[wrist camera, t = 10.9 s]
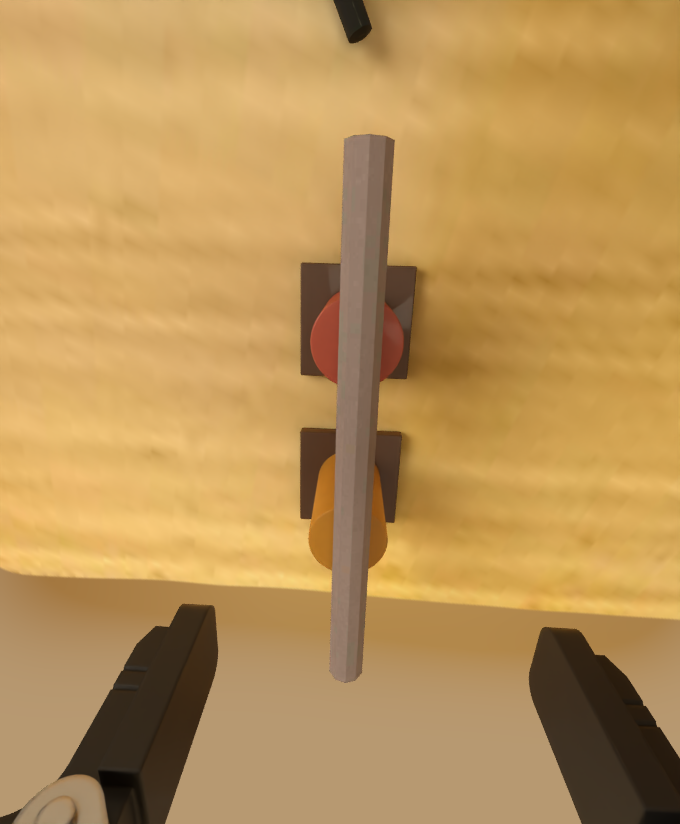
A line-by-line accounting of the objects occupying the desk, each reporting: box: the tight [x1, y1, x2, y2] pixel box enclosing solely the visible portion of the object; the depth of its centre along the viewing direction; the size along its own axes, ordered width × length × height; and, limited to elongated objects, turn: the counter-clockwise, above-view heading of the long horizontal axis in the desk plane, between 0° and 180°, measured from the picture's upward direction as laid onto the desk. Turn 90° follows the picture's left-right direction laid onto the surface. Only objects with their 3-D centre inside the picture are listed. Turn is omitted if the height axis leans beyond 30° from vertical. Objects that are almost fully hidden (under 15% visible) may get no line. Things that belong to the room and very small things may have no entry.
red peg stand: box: [301, 263, 417, 384], centre depth 24 cm, size 7×7×8 cm
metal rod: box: [329, 134, 395, 683], centre depth 21 cm, size 2×27×2 cm, turn 178°
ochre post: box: [300, 428, 402, 570], centre depth 27 cm, size 7×7×8 cm
